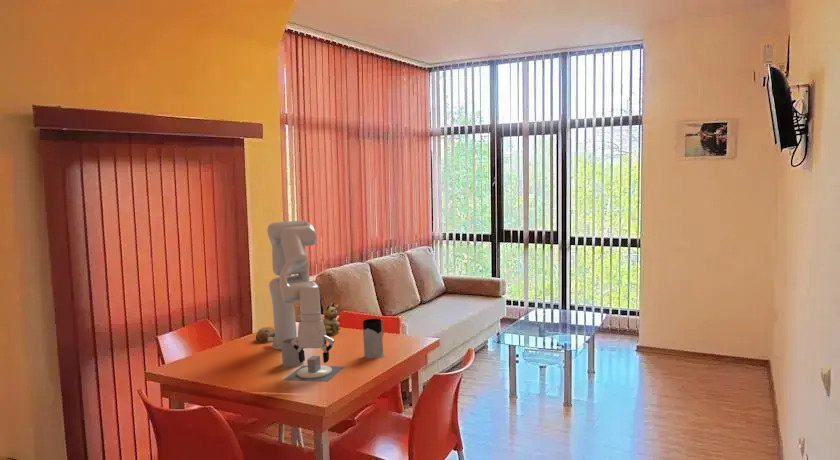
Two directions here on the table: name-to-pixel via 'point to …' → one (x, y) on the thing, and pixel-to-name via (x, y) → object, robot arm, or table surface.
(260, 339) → the bread roll
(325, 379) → the mat
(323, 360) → the robot arm
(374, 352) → the glass holder
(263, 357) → the table surface
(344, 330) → the table surface
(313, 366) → the lid
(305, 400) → the table surface
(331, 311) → the decorative figurine
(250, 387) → the table surface
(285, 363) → the cup
